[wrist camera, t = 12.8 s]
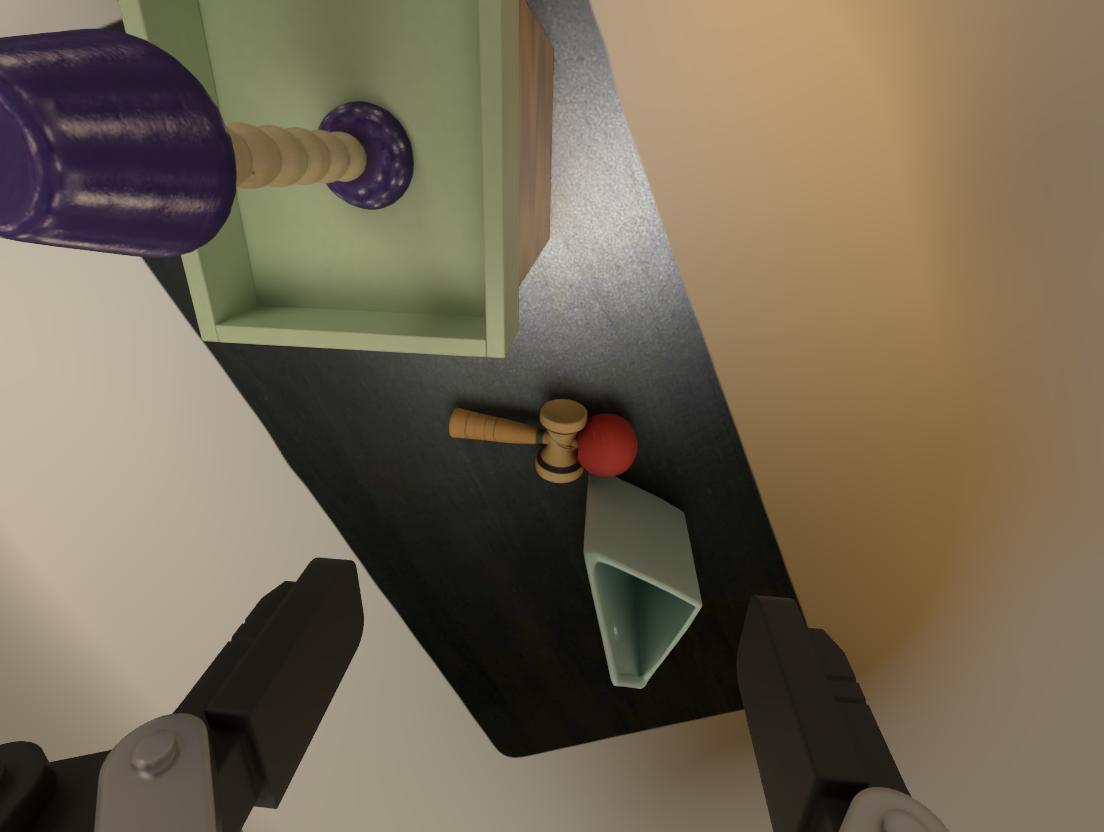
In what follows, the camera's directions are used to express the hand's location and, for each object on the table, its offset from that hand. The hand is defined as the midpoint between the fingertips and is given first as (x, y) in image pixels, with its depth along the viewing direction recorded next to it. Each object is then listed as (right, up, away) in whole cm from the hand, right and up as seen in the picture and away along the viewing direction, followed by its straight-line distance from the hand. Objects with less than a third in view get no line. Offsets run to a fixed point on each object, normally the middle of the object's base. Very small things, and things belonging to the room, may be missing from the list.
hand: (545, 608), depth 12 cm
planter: (+10, -7, +49) cm, 51 cm away
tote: (-8, +16, +14) cm, 22 cm away
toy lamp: (-8, +15, +13) cm, 22 cm away
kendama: (-1, +3, +46) cm, 46 cm away
